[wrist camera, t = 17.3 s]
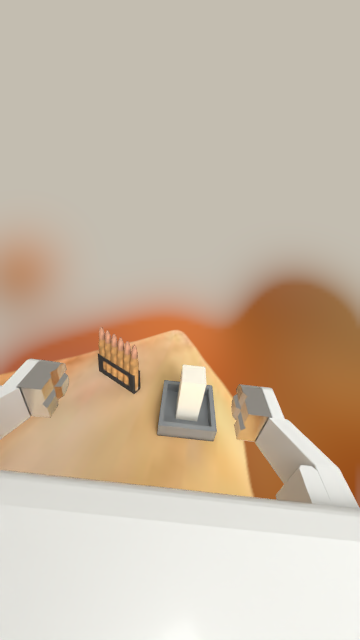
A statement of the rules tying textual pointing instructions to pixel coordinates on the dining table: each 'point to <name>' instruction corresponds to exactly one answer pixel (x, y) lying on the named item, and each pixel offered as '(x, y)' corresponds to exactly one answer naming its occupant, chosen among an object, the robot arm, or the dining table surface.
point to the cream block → (190, 392)
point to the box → (186, 428)
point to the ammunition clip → (119, 361)
